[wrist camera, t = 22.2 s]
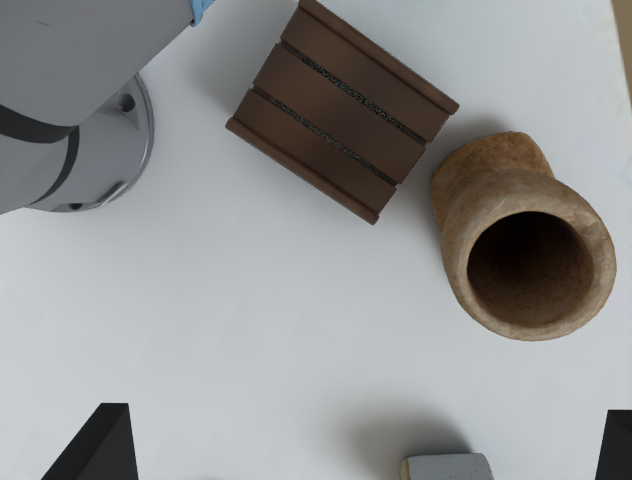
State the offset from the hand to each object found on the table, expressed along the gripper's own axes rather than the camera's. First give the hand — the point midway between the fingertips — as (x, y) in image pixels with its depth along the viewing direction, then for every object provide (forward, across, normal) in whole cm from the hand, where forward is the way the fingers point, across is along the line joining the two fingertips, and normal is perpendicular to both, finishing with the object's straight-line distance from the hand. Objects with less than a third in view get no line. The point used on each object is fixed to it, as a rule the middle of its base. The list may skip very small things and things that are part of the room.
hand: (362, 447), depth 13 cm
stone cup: (+29, +13, -1) cm, 32 cm away
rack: (+29, 0, +9) cm, 30 cm away
